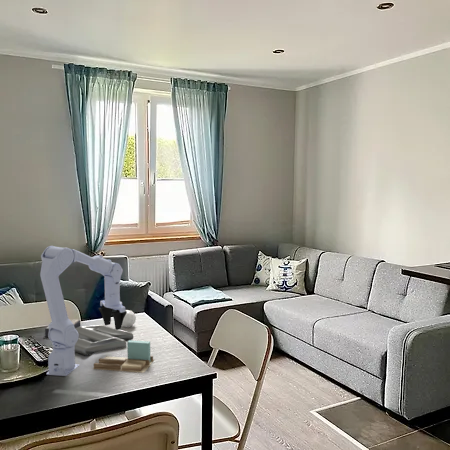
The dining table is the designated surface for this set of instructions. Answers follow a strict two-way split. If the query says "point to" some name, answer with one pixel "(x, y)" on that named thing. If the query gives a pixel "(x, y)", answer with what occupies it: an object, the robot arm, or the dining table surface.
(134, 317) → the geometric ball
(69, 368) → the robot arm
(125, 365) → the oak offcut
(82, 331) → the emblem
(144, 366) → the tan flat block
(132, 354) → the teal panel
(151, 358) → the rack
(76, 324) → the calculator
